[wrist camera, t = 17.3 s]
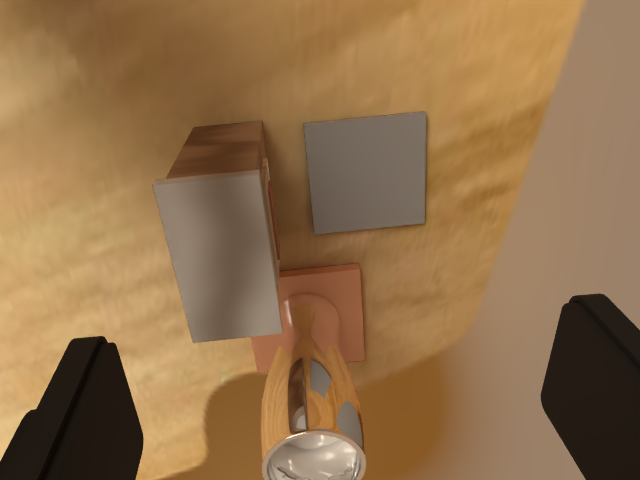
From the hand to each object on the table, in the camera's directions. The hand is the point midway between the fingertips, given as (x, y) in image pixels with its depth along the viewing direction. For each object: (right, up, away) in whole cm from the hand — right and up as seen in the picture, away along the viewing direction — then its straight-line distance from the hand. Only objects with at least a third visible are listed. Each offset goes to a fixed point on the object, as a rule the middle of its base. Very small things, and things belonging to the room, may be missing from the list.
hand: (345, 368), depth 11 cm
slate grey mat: (+3, +8, +29) cm, 30 cm away
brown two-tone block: (-7, +7, +29) cm, 31 cm away
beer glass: (-2, -4, +35) cm, 35 cm away
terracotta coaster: (-2, -4, +35) cm, 36 cm away
